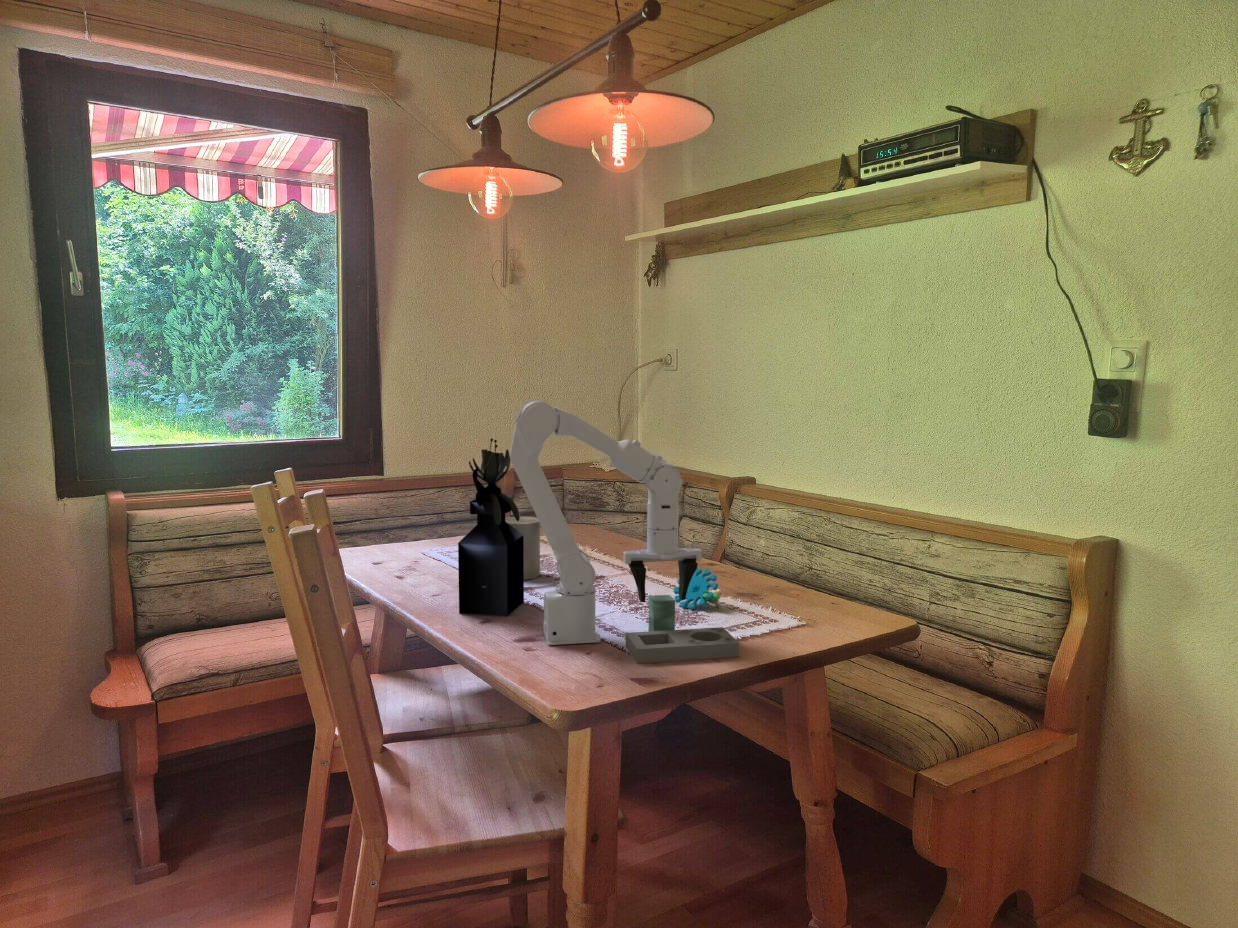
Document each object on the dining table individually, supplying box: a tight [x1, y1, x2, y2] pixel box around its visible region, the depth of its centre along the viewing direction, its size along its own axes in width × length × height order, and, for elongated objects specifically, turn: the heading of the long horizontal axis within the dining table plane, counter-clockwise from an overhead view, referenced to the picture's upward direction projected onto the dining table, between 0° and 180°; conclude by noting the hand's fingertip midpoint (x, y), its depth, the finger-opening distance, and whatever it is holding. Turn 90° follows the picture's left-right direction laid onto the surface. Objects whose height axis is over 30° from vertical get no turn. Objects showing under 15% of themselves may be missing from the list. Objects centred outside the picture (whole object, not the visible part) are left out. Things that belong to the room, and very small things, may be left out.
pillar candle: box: [505, 513, 541, 581], centre depth 198 cm, size 10×10×15 cm
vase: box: [457, 438, 525, 618], centre depth 168 cm, size 14×12×35 cm
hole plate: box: [625, 626, 740, 665], centre depth 144 cm, size 18×9×2 cm, turn 102°
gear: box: [672, 567, 721, 611], centre depth 174 cm, size 11×6×10 cm
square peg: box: [648, 594, 676, 631], centre depth 154 cm, size 4×4×7 cm
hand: (662, 599), depth 153 cm, fingers open, 7 cm apart
